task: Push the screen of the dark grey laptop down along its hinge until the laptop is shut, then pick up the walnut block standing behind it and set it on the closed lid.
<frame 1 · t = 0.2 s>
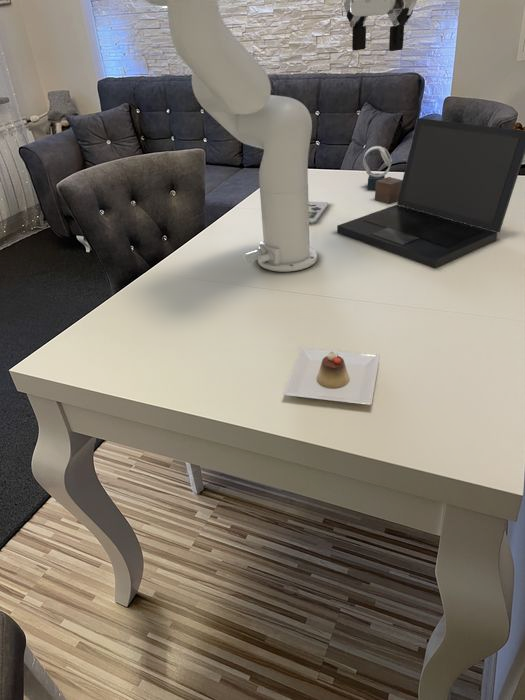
hand: (376, 50, 105), 37 cm above the table, tool pointing down, fingers open, 9 cm apart
dessert: (333, 381, 76), on the table
laptop screen: (456, 172, 119), point 11 cm above the table, hinge at 105.0°
block: (388, 199, 142), on the table
handheld gaming device: (305, 213, 138), on the table
laptop: (413, 236, 119), on the table
watch: (376, 188, 152), on the table
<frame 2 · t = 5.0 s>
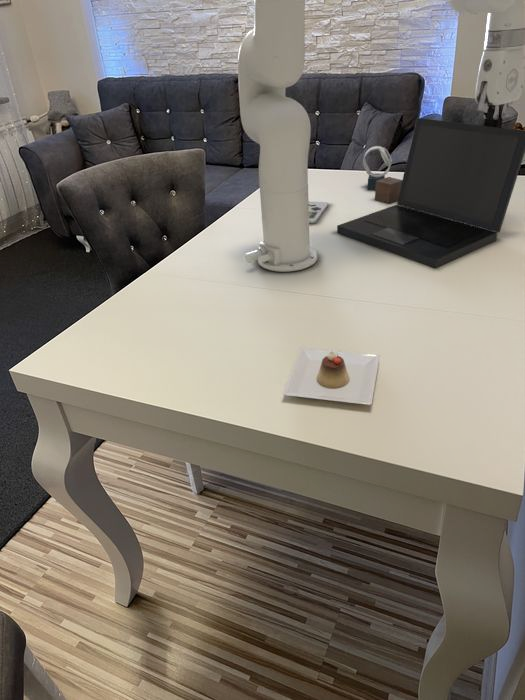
hand: (491, 137, 115), 18 cm above the table, tool pointing down, fingers closed
laptop screen: (456, 172, 119), point 11 cm above the table, hinge at 104.6°, touching gripper
everything else where it was.
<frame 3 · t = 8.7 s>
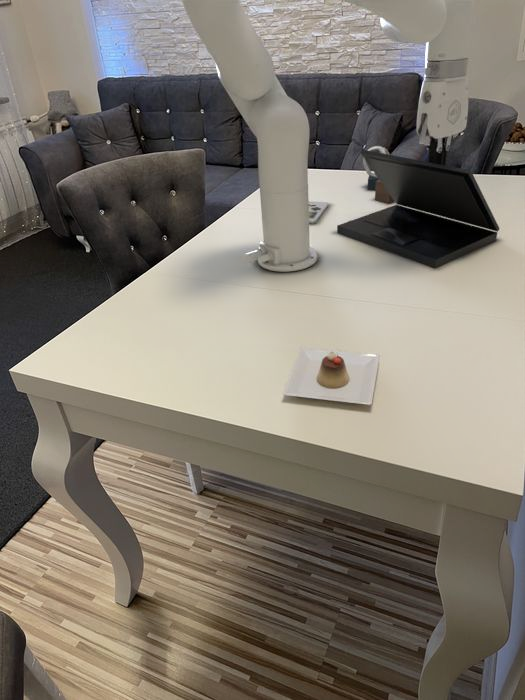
hand: (436, 170, 109), 15 cm above the table, tool pointing down, fingers closed
laptop screen: (428, 189, 116), point 10 cm above the table, hinge at 48.4°, touching gripper
everything else where it was.
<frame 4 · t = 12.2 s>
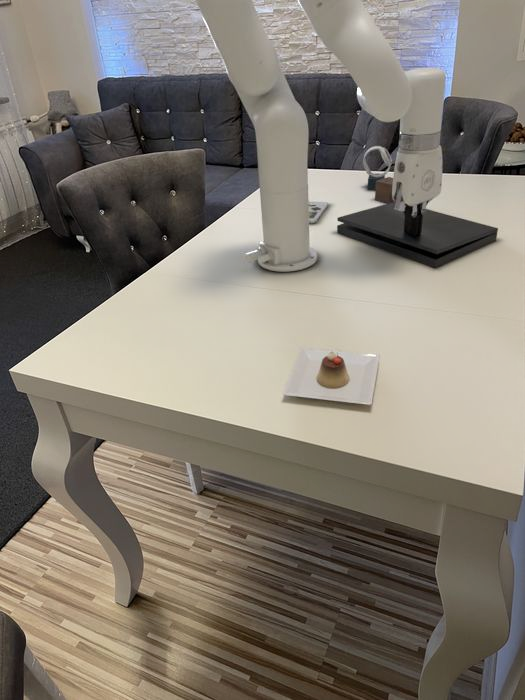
hand: (412, 232, 112), 3 cm above the table, tool pointing down, fingers closed
laptop screen: (414, 224, 118), point 3 cm above the table, hinge at 2.8°, touching gripper, laptop
everything else where it was.
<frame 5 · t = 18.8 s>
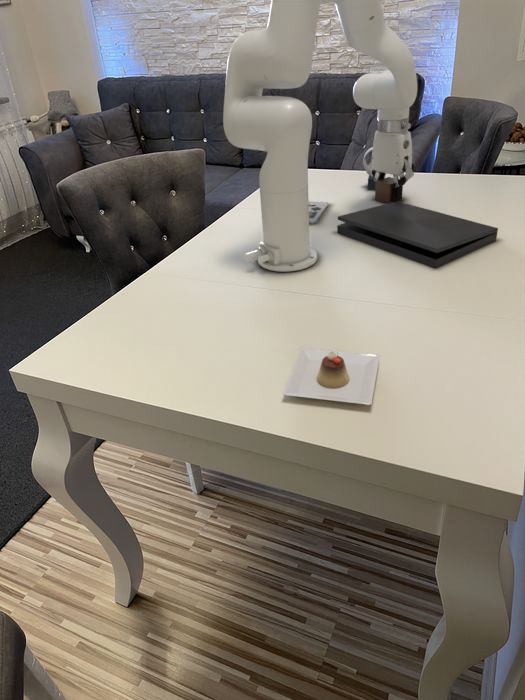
hand: (388, 197, 142), 0 cm above the table, tool pointing down, fingers closed on block, 5 cm apart
laptop screen: (414, 224, 118), point 3 cm above the table, hinge at 3.5°, touching laptop
block: (388, 199, 142), on the table, touching gripper
everything else where it was.
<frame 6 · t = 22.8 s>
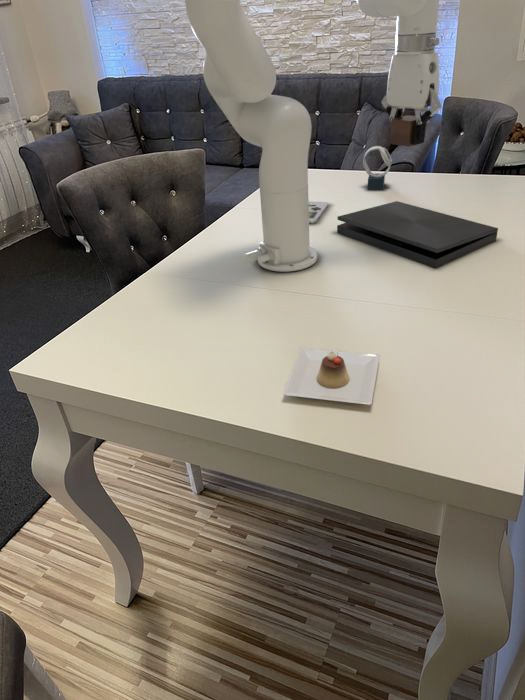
hand: (407, 141, 114), 19 cm above the table, tool pointing down, fingers closed on block, 5 cm apart
block: (407, 143, 115), point 19 cm above the table, touching gripper
everything else where it was.
when the fingers open (4 cm above the table, at t = 27.1 s): block stays where it is, resting on laptop screen.
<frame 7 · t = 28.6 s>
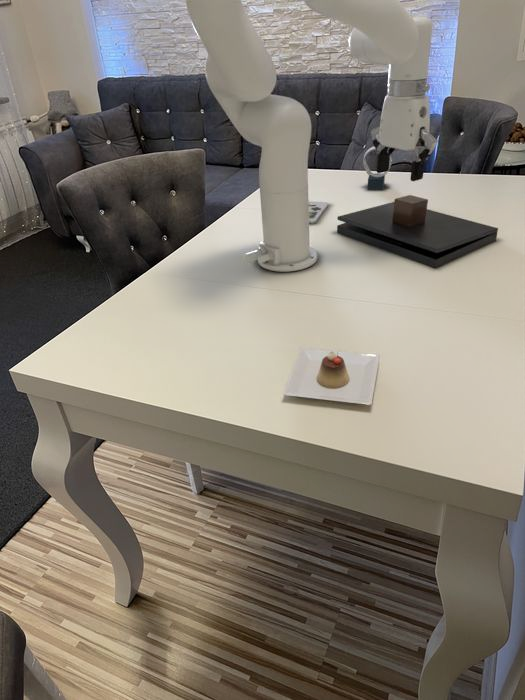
hand: (399, 175, 116), 12 cm above the table, tool pointing down, fingers open, 9 cm apart
laptop screen: (414, 224, 118), point 3 cm above the table, hinge at 3.5°, touching block, laptop
block: (408, 221, 118), point 3 cm above the table, touching laptop screen
everything else where it was.
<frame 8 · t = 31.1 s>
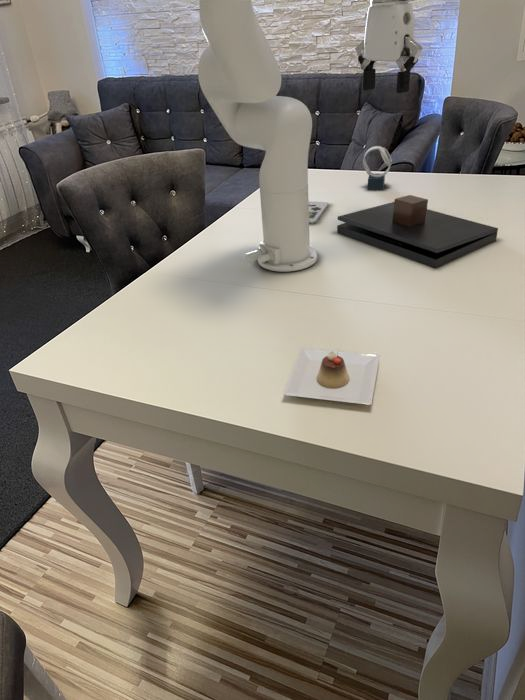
hand: (385, 90, 116), 28 cm above the table, tool pointing down, fingers open, 9 cm apart
nothing on the table moved.
at the end: laptop screen at +4° (first picture: +105°); block inside the target area on the laptop (1.3 cm from its centre), point 3.4 cm above the laptop's base; block tilted 4° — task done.
